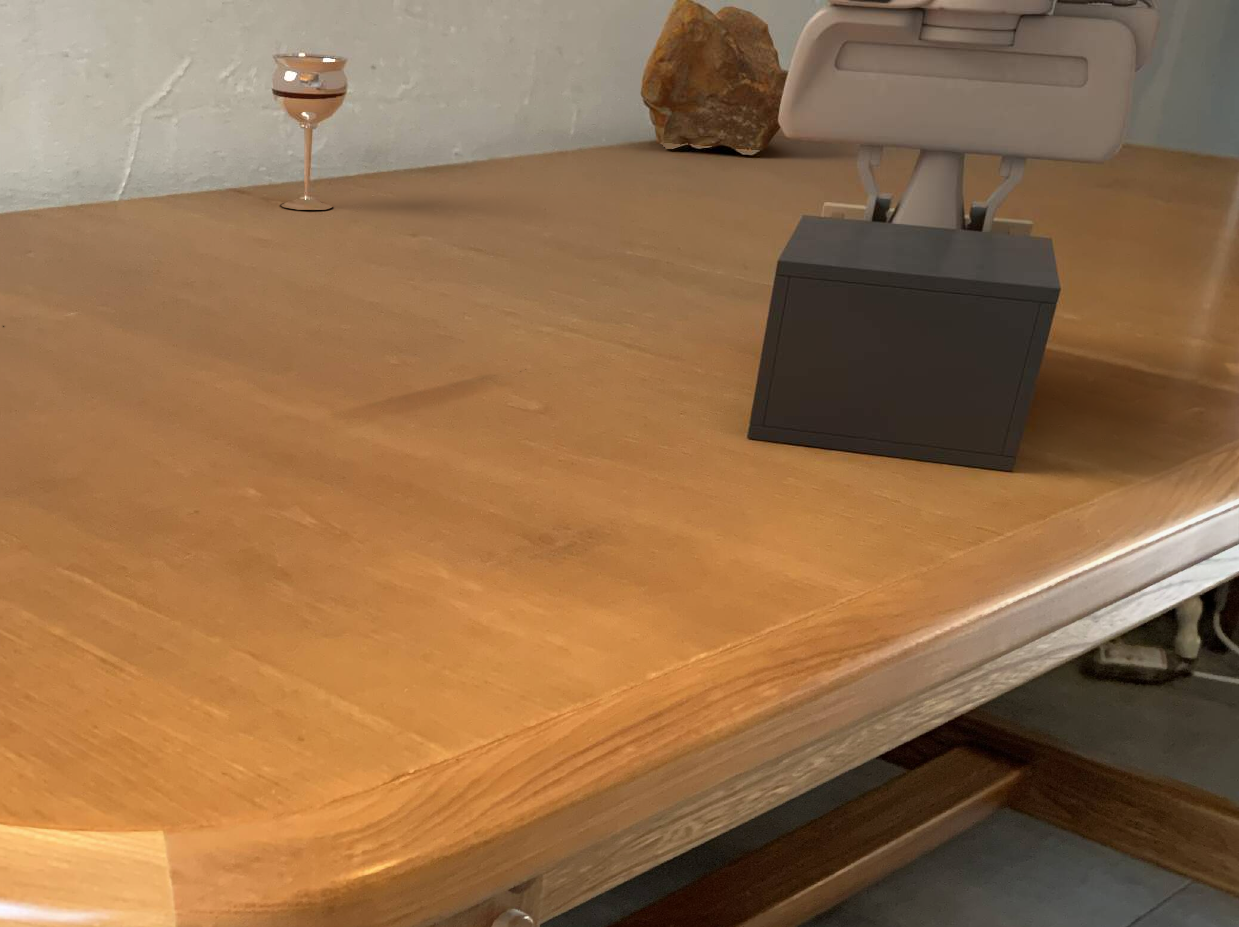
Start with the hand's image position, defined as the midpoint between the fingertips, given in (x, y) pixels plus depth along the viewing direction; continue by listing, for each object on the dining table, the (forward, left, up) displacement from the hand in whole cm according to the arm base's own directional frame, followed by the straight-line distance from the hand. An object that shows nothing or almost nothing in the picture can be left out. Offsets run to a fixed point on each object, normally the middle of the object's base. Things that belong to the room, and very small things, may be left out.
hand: (924, 229), depth 106 cm
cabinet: (0, +12, -9) cm, 15 cm away
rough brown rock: (+24, -101, -9) cm, 104 cm away
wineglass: (+54, -39, -9) cm, 67 cm away
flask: (0, 0, -4) cm, 4 cm away
